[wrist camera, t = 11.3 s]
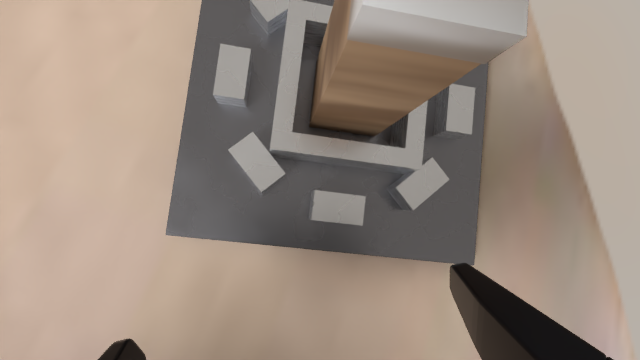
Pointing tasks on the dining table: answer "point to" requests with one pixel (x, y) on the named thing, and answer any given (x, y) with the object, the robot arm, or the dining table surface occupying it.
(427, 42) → the tan tall block
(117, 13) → the dining table surface
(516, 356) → the robot arm
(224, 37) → the grey square base plate
